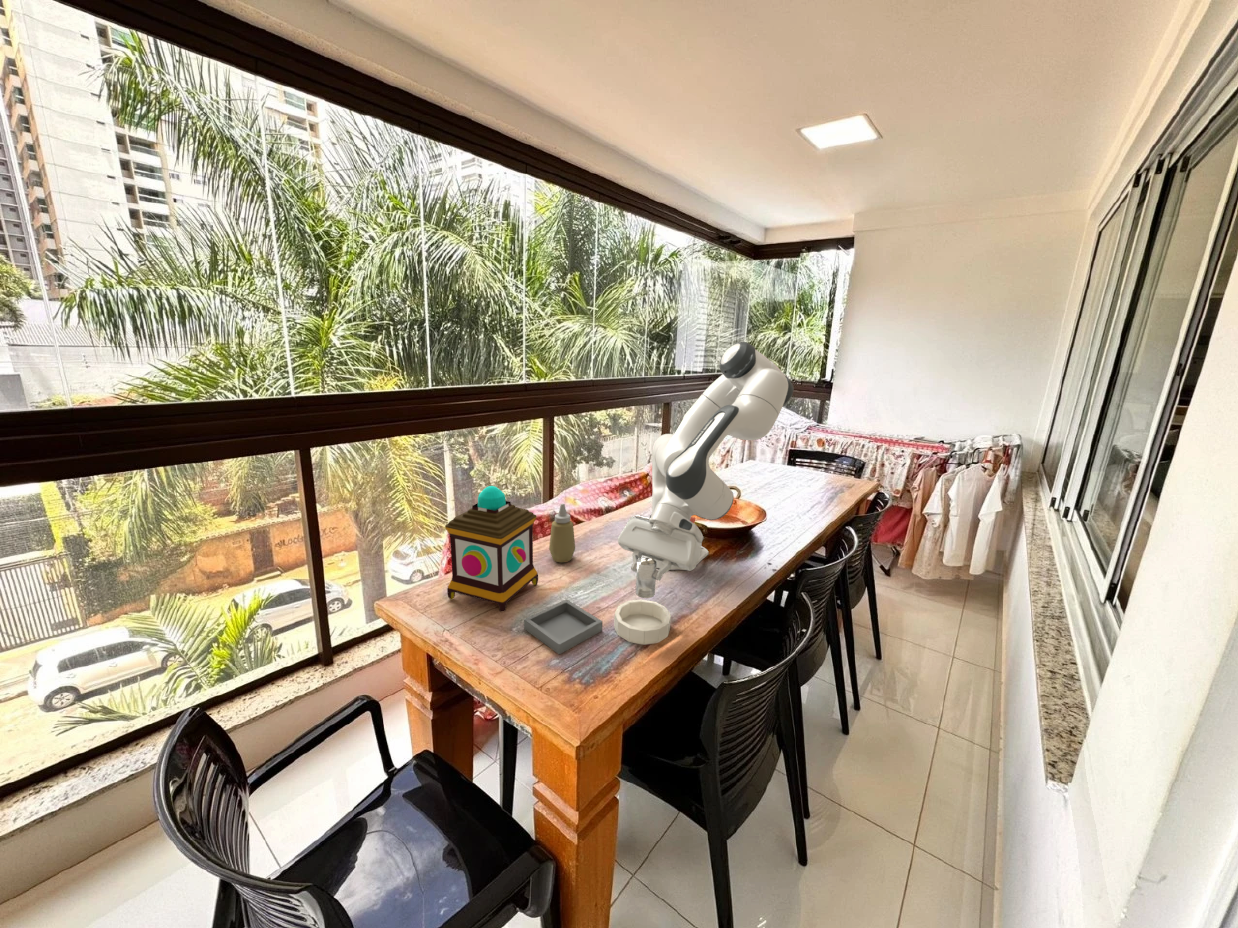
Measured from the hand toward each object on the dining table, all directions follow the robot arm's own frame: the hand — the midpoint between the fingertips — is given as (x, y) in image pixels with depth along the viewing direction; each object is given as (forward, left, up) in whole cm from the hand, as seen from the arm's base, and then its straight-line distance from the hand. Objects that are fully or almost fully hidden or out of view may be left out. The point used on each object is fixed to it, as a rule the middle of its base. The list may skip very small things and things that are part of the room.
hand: (645, 575), depth 115 cm
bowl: (0, 0, -15) cm, 15 cm away
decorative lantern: (+16, -39, -15) cm, 45 cm away
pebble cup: (-1, 0, -5) cm, 5 cm away
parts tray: (+14, -12, -15) cm, 24 cm away
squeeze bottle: (-10, -42, -15) cm, 46 cm away
